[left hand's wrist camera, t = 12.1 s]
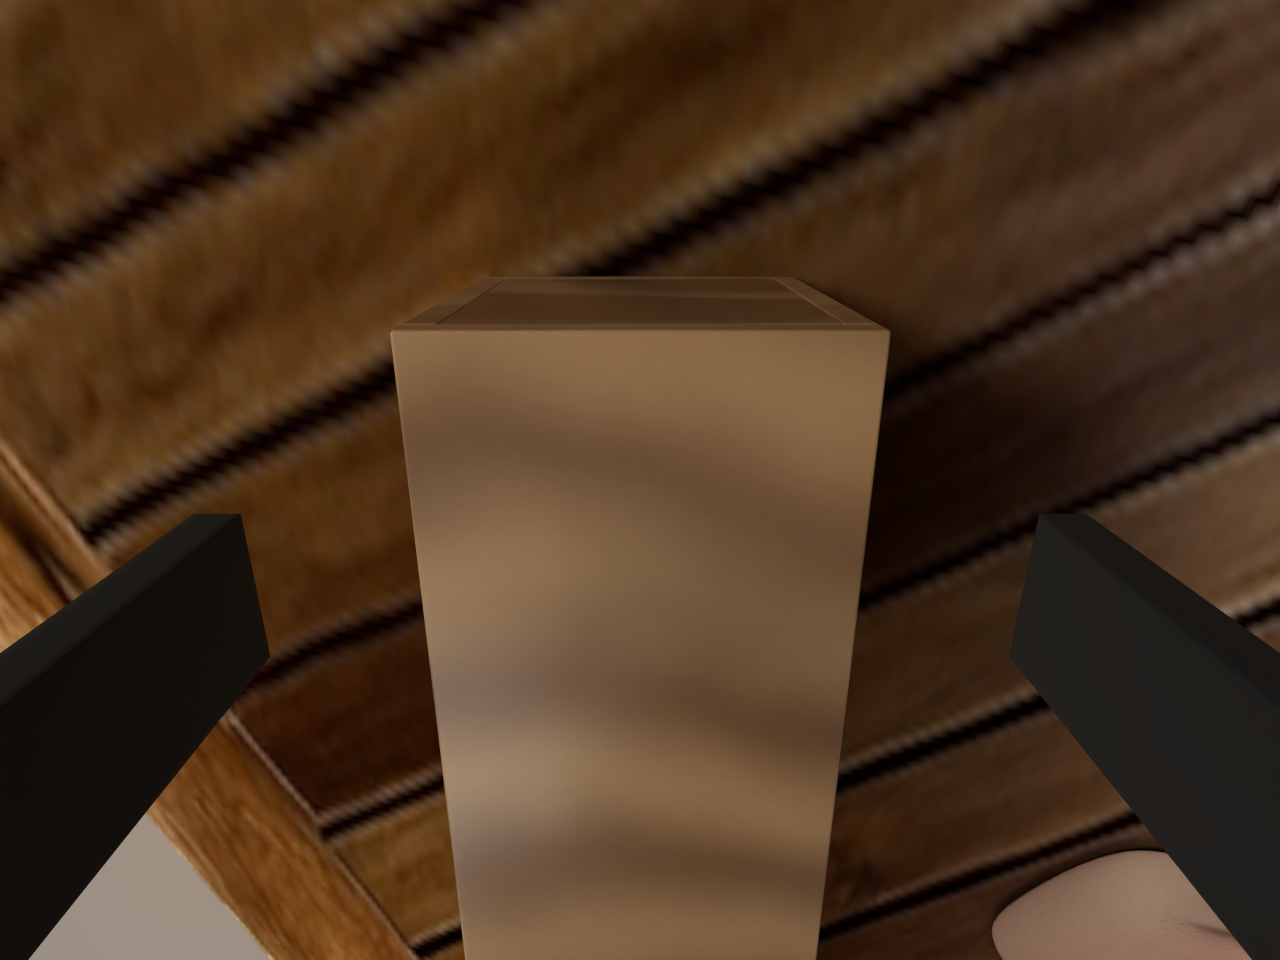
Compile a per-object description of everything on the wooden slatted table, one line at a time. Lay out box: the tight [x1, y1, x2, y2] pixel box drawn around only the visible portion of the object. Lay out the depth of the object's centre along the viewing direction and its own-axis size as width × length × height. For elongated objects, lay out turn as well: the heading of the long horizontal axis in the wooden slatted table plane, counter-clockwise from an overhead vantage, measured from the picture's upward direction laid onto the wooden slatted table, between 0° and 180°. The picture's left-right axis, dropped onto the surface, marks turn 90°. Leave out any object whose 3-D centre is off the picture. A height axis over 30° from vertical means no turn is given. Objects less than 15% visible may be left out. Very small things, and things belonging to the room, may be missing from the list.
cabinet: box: [390, 276, 891, 960], centre depth 24 cm, size 20×11×11 cm, turn 0°
